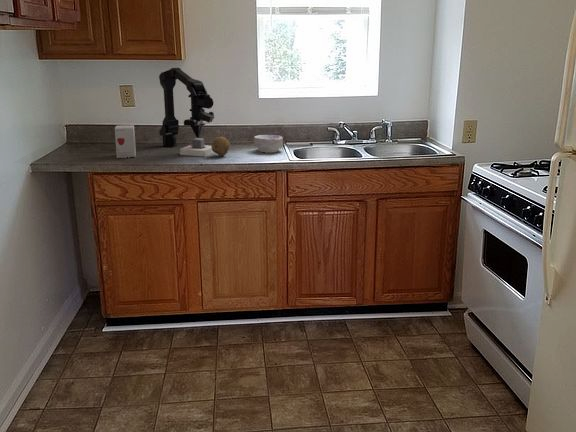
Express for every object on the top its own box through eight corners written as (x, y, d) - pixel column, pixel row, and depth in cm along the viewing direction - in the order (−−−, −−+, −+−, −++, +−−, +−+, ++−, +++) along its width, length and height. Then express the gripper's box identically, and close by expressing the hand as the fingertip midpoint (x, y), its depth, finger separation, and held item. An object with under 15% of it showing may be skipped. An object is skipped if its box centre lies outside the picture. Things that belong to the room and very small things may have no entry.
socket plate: (180, 154, 283) (179, 147, 282) (192, 149, 295) (192, 142, 294) (204, 156, 279) (204, 149, 278) (216, 151, 291) (216, 144, 290)
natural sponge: (214, 158, 275) (213, 138, 272) (209, 155, 283) (209, 135, 280) (231, 157, 278) (231, 137, 275) (227, 154, 286) (226, 134, 283)
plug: (192, 151, 286) (191, 139, 284) (196, 150, 289) (195, 137, 287) (201, 152, 284) (200, 139, 282) (204, 150, 288) (204, 138, 286)
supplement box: (116, 158, 273) (113, 127, 268) (118, 154, 281) (115, 125, 277) (135, 157, 275) (133, 127, 270) (136, 154, 283) (134, 124, 278)
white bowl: (284, 149, 300) (284, 134, 298) (281, 154, 286) (281, 139, 284) (256, 148, 302) (256, 133, 299) (251, 153, 287) (251, 138, 285)
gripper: (202, 109, 269) (203, 141, 274) (219, 105, 286) (219, 135, 291) (182, 108, 272) (183, 140, 277) (199, 104, 289) (200, 134, 294)
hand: (197, 137), depth 285 cm, fingers closed
